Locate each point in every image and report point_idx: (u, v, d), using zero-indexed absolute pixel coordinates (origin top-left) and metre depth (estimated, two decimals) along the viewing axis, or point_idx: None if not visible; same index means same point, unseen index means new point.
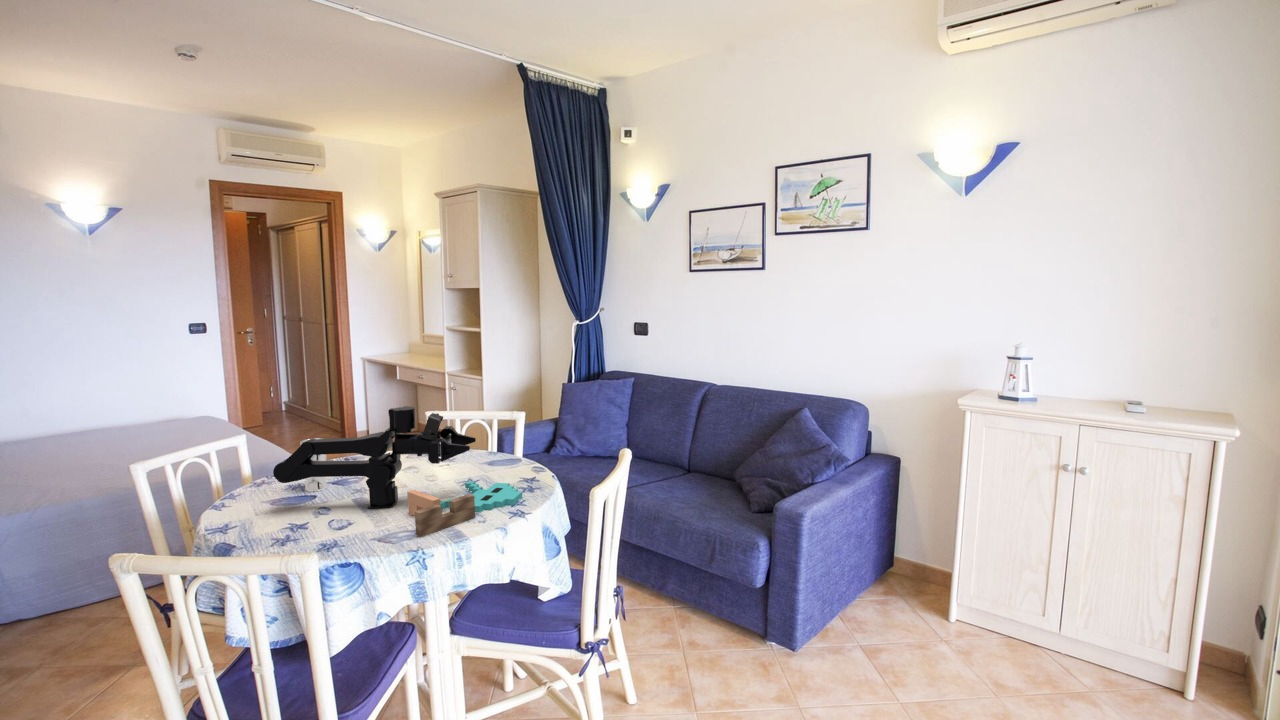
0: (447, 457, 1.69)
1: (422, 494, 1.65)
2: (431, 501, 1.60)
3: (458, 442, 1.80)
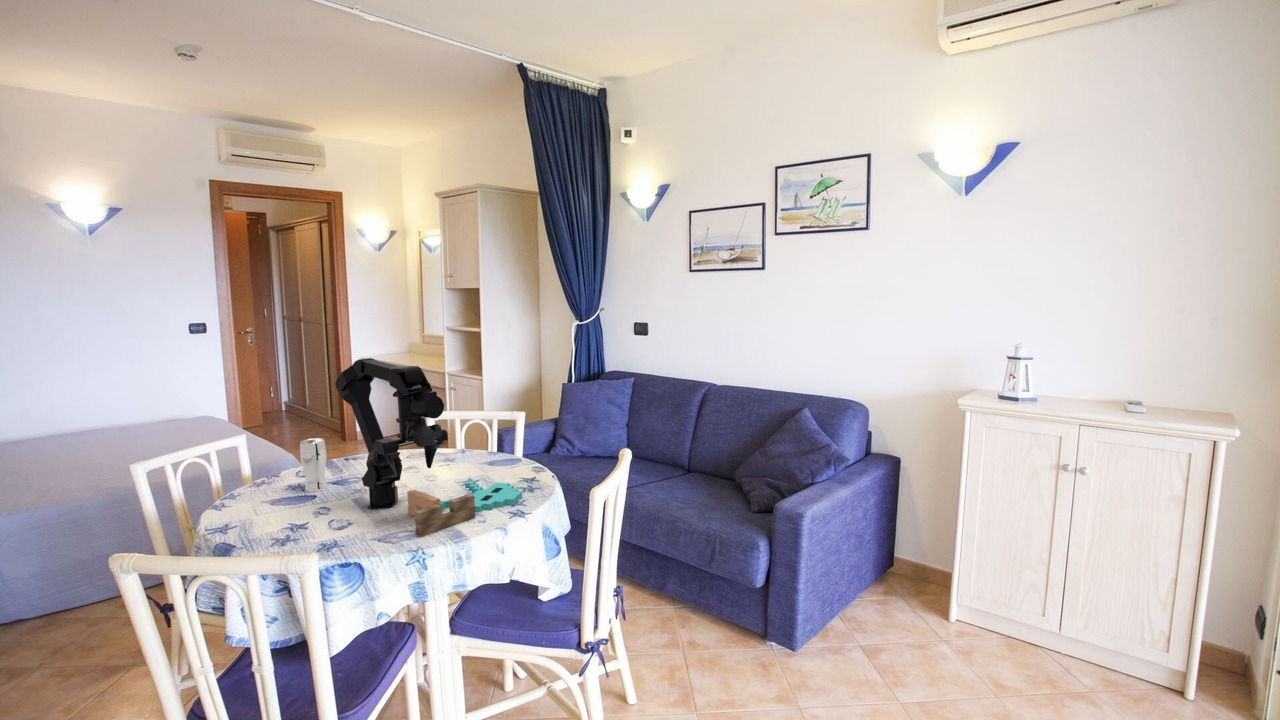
0: (385, 455, 1.62)
1: (422, 494, 1.65)
2: (431, 501, 1.60)
3: (427, 449, 1.70)
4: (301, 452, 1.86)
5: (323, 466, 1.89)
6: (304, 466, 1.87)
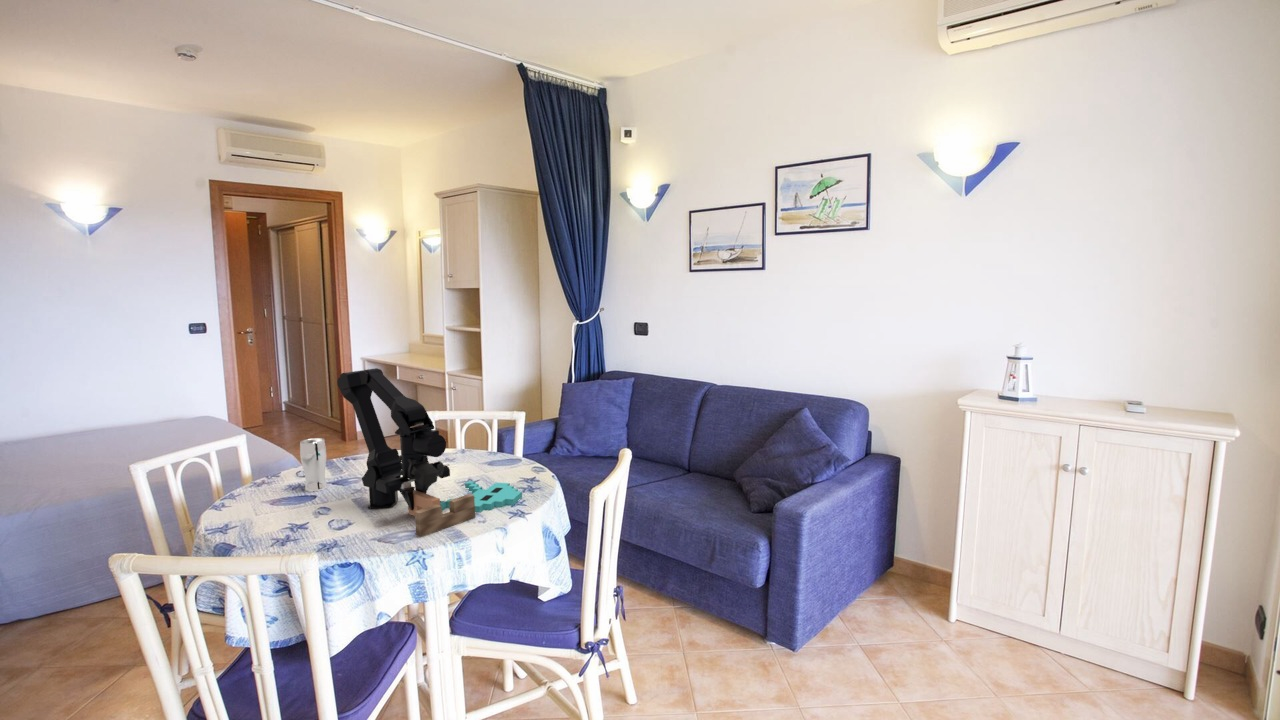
0: (399, 490, 1.66)
1: (422, 494, 1.65)
2: (431, 501, 1.60)
3: (418, 489, 1.68)
4: (301, 452, 1.86)
5: (323, 466, 1.89)
6: (304, 466, 1.87)
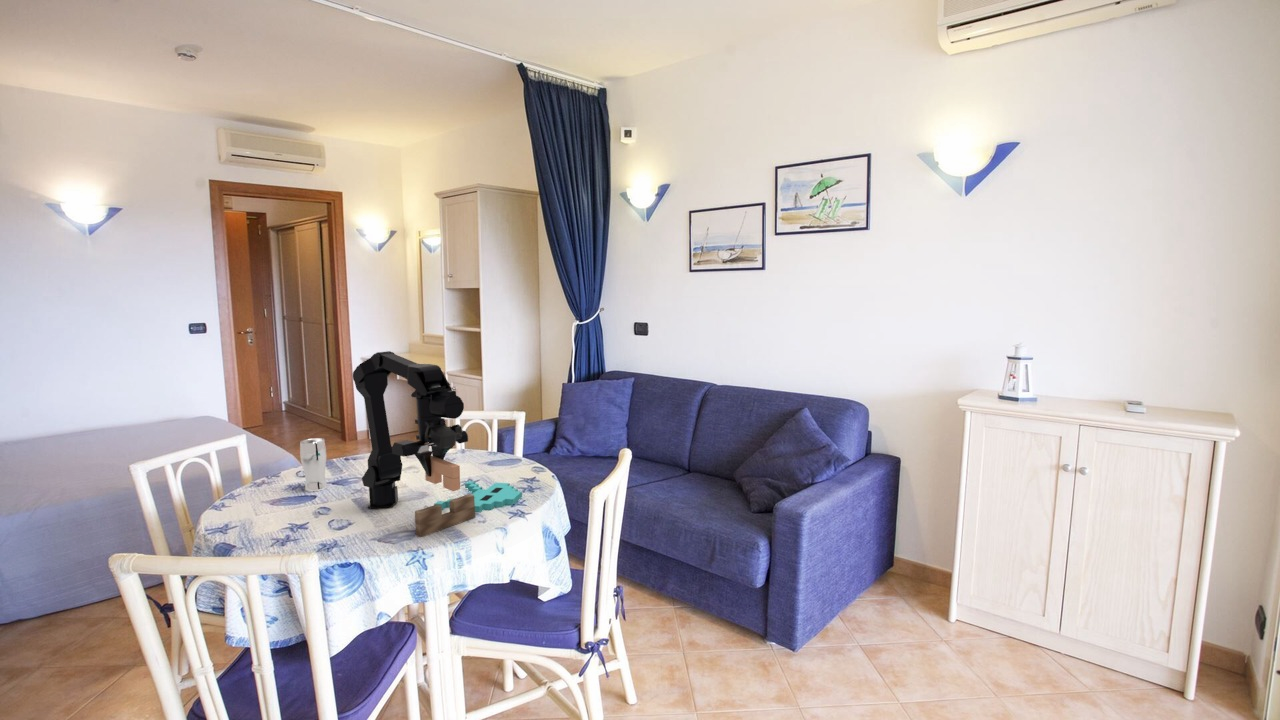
0: (416, 455, 1.59)
1: (441, 460, 1.58)
2: (450, 468, 1.53)
3: (435, 454, 1.61)
4: (301, 452, 1.86)
5: (323, 466, 1.89)
6: (304, 466, 1.87)
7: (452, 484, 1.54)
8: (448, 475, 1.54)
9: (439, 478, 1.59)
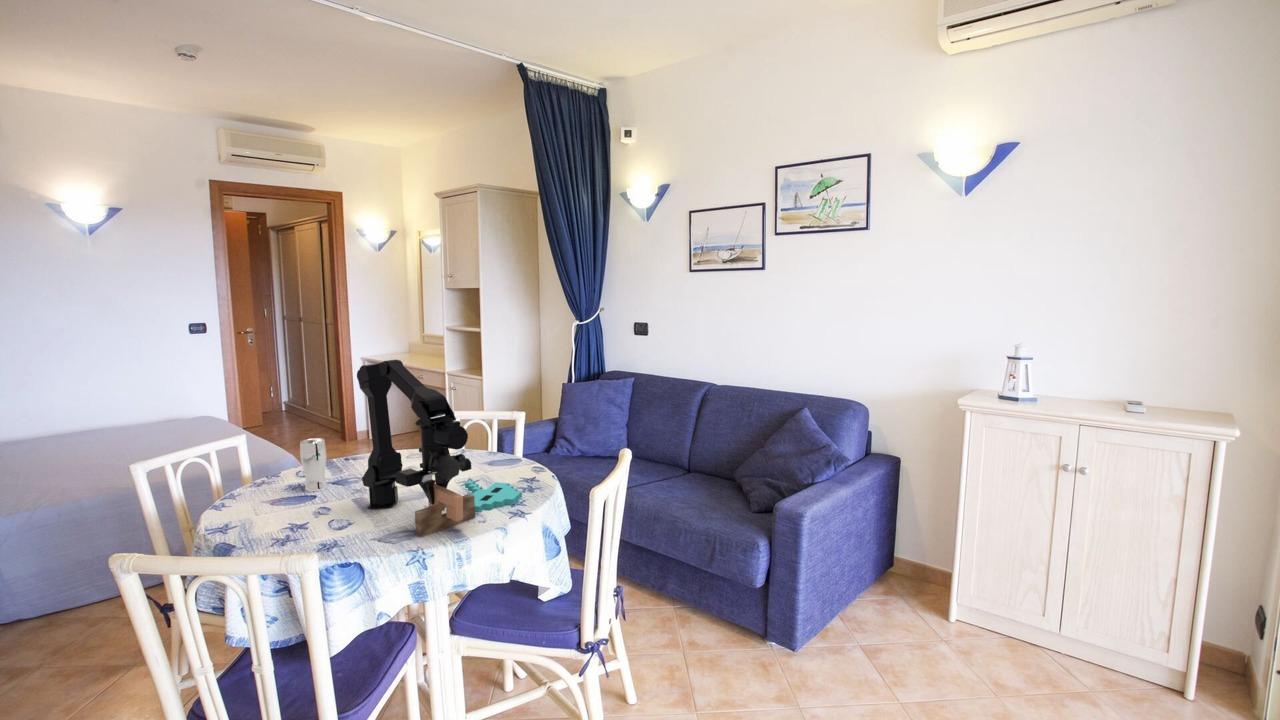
0: (420, 483, 1.59)
1: (444, 489, 1.58)
2: (453, 498, 1.54)
3: (438, 482, 1.62)
4: (301, 451, 1.86)
5: (323, 466, 1.89)
6: (304, 466, 1.87)
7: (455, 514, 1.54)
8: (451, 505, 1.55)
9: (442, 507, 1.60)
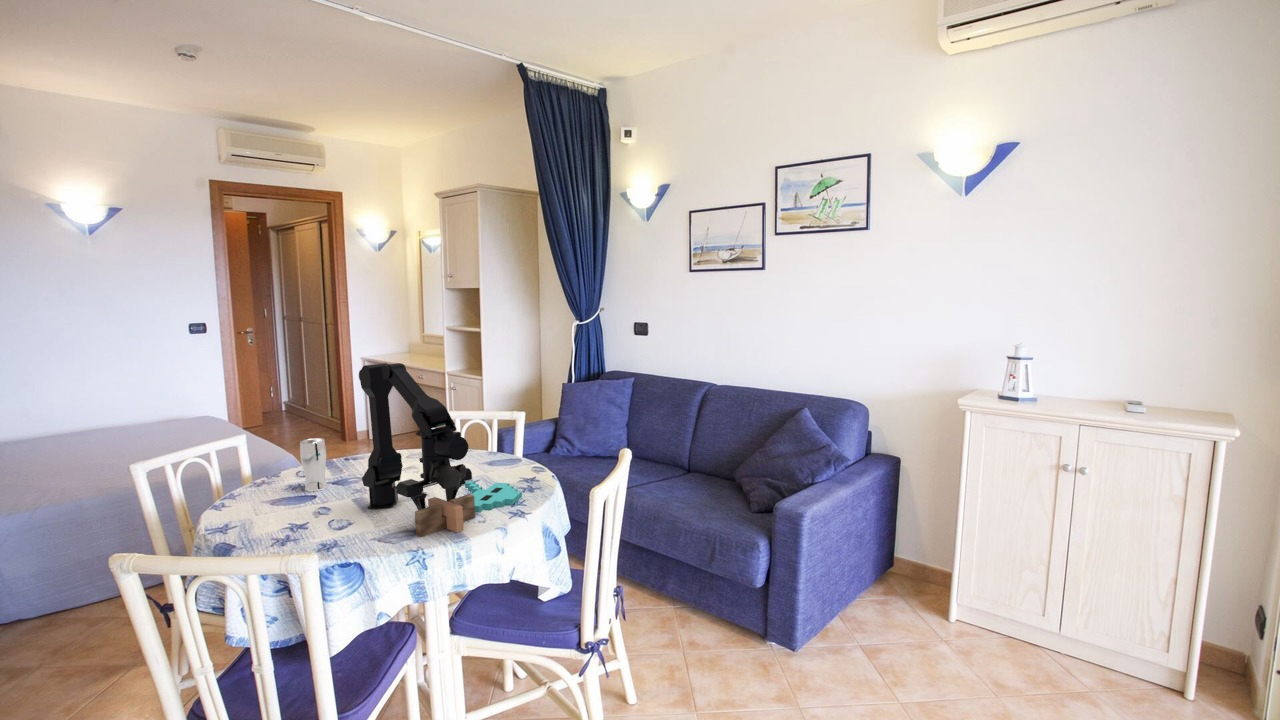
0: (411, 496, 1.57)
1: (443, 501, 1.59)
2: (453, 509, 1.54)
3: (448, 490, 1.64)
4: (301, 452, 1.86)
5: (323, 466, 1.89)
6: (304, 466, 1.87)
7: (455, 525, 1.54)
8: (451, 516, 1.55)
9: None
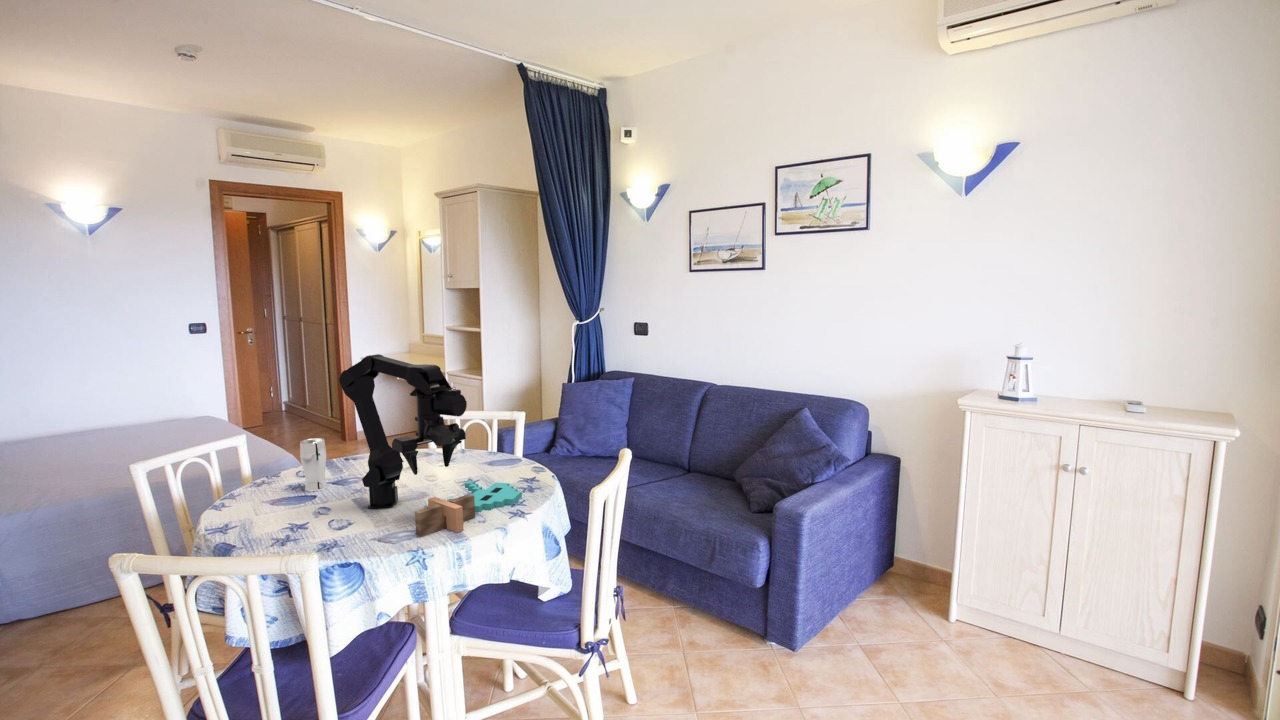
0: (403, 453, 1.63)
1: (443, 502, 1.59)
2: (453, 509, 1.54)
3: (445, 448, 1.71)
4: (301, 452, 1.86)
5: (323, 466, 1.89)
6: (304, 466, 1.87)
7: (455, 525, 1.54)
8: (451, 516, 1.55)
9: None
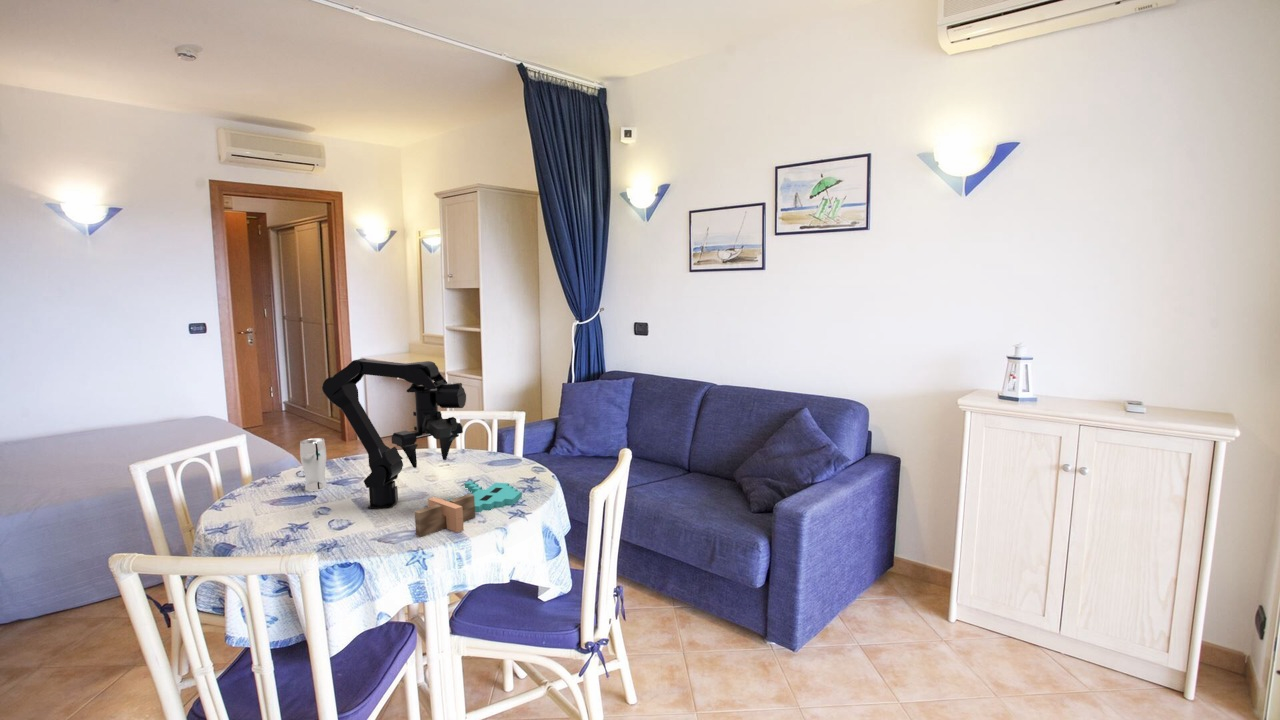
0: (403, 447, 1.68)
1: (443, 502, 1.59)
2: (453, 509, 1.54)
3: (442, 442, 1.76)
4: (301, 452, 1.86)
5: (323, 466, 1.89)
6: (304, 466, 1.87)
7: (455, 525, 1.54)
8: (451, 516, 1.55)
9: None
